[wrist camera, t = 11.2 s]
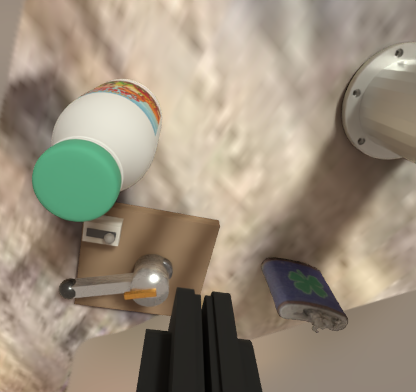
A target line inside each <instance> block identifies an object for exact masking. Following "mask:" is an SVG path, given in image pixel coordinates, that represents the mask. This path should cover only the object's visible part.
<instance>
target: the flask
mask: <svg viewBox="0 0 416 392" xmlns="http://www.w3.org/2000/svg"><path fill="white" fill-rule="evenodd" d="M261 269H262V271H263V274H264V276H265V278H266V281H267V283H268V286H269V289H270V291H271V294H272V297H273V300H274V302H275V306H276V309H277V312H278V314H279V316H280V317H282V318H285V319H293V320H302V321H308V322H312V325H314V326H313V327H312V330H313V331H315V332H316V333H318V331H317V329H318V328H321V329H325V328H329V329H330V330H334V331H338V330H342V329H344V328H345V327H346V325H347V324H348V318H347V316H346V314H345V313H344V312H343V310H342V308H341V307H340V305H339V303H338V302H337V300H336V298H335V297H334V295H333V293H332V291H331V290H330V288H329V286H328V284H327V283H326V281H325V280H324V278H323V276H322V274H321V272H320V271H319V270H318V269H317V268H315V267H312V266H310V265H307V264H306V263H303V262H298V261H297V262H296V261H293V260H287V259H281V258H269V259H266V260H264V261H263V264H262V266H261Z"/></svg>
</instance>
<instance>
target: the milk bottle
mask: <svg viewBox="0 0 416 392" xmlns="http://www.w3.org/2000/svg"><path fill="white" fill-rule="evenodd" d="M161 126H162V112H161V108H160V105H159V102H158V100H157V99H156V97H155V96H154V94H153V93H152V92H151V91H150V90H149V89H148V88H147V87H145V86H144V85H142V84H141V83H139V82H136V81H133V80H129V79H116V80H112V81H109V82H106V83H104V84H102V85H100V86H98V87H96V88H94V89H92V90H91V91H89V92H87V93H85V94H84V95H82V96H80V97H79V98H77V99H76V100H75V101H73V102H72V103H71V104H69V105H68V106H67V107H66V108H65V110H64V111H63V112H62V113H61V115H60V116H59V118H58V120H57V122H56V124H55V127H54V130H53V134H52V147H50V148H49V149H47V150H46V151H45V152H44V153H43V154H42V155H41V156H40V158H39V159H38V160H37V162H36V164H35V167H34V170H33V174H32V184H33V189H34V192H35V194H36V196H37V198H38V200H39V201H40V203H41V204H42V205H43V206H44V207H45V208H46V209H47V210H48V211H49V212H51V213H52V214H54V215H56V216H58V217H60V218H62V219H65V220H69V221H74V222H85V221H91V220H94V219H97V218H99V217H101V216H102V215H104V214H105V213H106V212H108V211H109V210H110V209H111V208H112V206H113V205H114V203H115V202H116V200H117V198H118V195H119V192H120V191H123V190H125V189H127V188H129V187H131V186H132V185H134V184H135V183H136V182H138V181H139V180H140V179H141V178H142V177H143V176H144V174H145V173H146V172H147V170H148V169H149V167H150V165H151V163H152V161H153V158H154V155H155V152H156V148H157V144H158V140H159V136H160V131H161Z"/></svg>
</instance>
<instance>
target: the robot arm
mask: <svg viewBox="0 0 416 392" xmlns="http://www.w3.org/2000/svg"><path fill="white" fill-rule="evenodd" d="M395 52H396V54H395ZM354 91H355V93H354V94H353V92H354ZM342 122H343V127H344V130H345V133H346V136H347V137H348V139H349V140H350V142H351V143H352V144H353V145H354V146H355V147H356V148H357V149H358V150H360V151H361V152H363V153H364V154H366V155H368V156H371V157H373V158H378V159H390V160H391V159H397V158H402V157H403V158H405V159H407V160H409V161H411V162H413V163H415V164H416V42H407V43H400V44H396V45H393V46H390V47H387V48H385V49H383V50H382V51H380V52H378V53H376V54H375V55H373V56H372V57H371V58H370V59H369V60H367V61H366V62H365V63H364V64H363V65H362V67H361V68H360V69H359V70H358V71H357V72H356V74H355V75H354V77H353V79H352V80H351V82H350V84H349V86H348V88H347V91H346V93H345V96H344V100H343V104H342ZM358 140H359V141H358ZM136 392H262V388H261V383H260V378H259V373H258V368H257V364H256V359H255V354H254V349H253V345H252V342H251V341H250V340H244V339H238V338H237V332H236V326H235V320H234V313H233V307H232V301H231V296H230V294H229V293H221V292H212V293H211V296H207V295H205V297H204V301H203V305H202V309H201V295H199V294H195V290H194V289H189V288H181V287H177V289H176V293H175V298H174V303H173V309H172V314H171V319H170V324H169V329H168V331H160V330H150V329H146V333H145V339H144V345H143V351H142V358H141V365H140V371H139V377H138V383H137V390H136Z"/></svg>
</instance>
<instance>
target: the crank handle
mask: <svg viewBox="0 0 416 392" xmlns="http://www.w3.org/2000/svg"><path fill="white" fill-rule="evenodd" d="M172 274H173V266H172V263H171V262H170V261H169V260H168V259H166V258H163V257H162V256H160V255H156V254H148V255H144V256H142V257H141V258H139V259H138V260H137V262H136V264H135V268H134V273H127V274H117V275H107V276H96V277H86V278H76V279H73V278H69V279H66V280H64V281H63V282H62V283H61V284H60V286H59V293H60V295H61V296H62V297H63V298H65V299H73V298H80V297H90V296H100V295H110V294H120V293H124V298H125V300H127V299H133V300H134V301H135V302H136V303H138V304H139V305H142V306H146V307H153V306H157V305H159V304H161V303H163V302H164V301H165V300H166V299H167V297H168V294H169V279H170V278H171V277H172Z"/></svg>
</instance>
